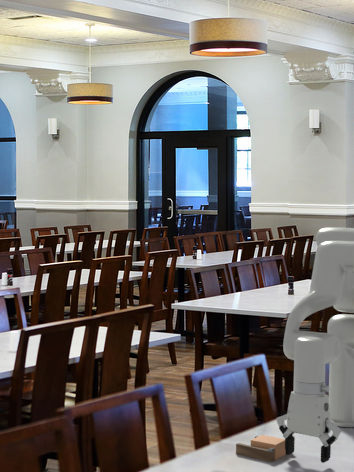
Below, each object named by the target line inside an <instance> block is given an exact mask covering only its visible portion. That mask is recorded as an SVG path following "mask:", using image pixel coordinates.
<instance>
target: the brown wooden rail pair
mask: <svg viewBox="0 0 354 472" xmlns="http://www.w3.org/2000/svg"><path fill="white" fill-rule="evenodd" d="M258 436H259V435H256V436H254V438H256V437H258ZM274 451H275V448H269V449H264V448H259V447H255V446H251V444H246V443H241V442H237V443H236V444H235V455H239V456H244V457H249V458H252V459H257V460H261V461H265V462H270V463H273V462H275V460H274Z"/></svg>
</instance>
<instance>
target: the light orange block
mask: <svg viewBox="0 0 354 472" xmlns="http://www.w3.org/2000/svg"><path fill="white" fill-rule="evenodd" d="M257 436H258V437H256V436H255V437H256V438H255V437H254V438H252V439H250V446H255V447H259V448H264V449H269V448H275V451H274V461H276V460H278V459H279V458H280V459H281V458H282V457H284V456H285V455H287V454H286V450H285V438H280V437H275V436H269V435H266V434H265V435H263V434H260V435H257Z"/></svg>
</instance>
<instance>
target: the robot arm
mask: <svg viewBox="0 0 354 472" xmlns="http://www.w3.org/2000/svg"><path fill="white" fill-rule="evenodd" d="M315 235H316V236H315V241H316V246H317V248H316V250H315V255H314V262H313V268H312V274H311V279H310V280H311V281H310V285H309V286H310V288H309V292H308V293H307V294H306V295H305V296H304V297H303V298H302V299H301V300H299V301H298V302H297V303H296V305H295V306H294V307H293V309H292V310H291V312H290V313H289V315H288V317H287V320H286V324H285V330H284V334H283V335H284V337H283V343H282V347H283V353H284V355H285V356H286V357H287V359H289V360H291V361H293V391H292V390H291V392H290V395H289V400H288V404H287V405H288V407H287V413H286V414H283V415H281V416H278V417H276V418H275V419H276V420H275V421H276V423H277V425H278V429H279V430H280V432H281V434H282V437H283V439H285V450H286V455H291V454H293V453H295V443H296V442H295V440H296V439H295V436H294V434H300V435H303V436H304V435H305V436H308V437H314V438H318V439H319V440H320V443H322V445H320V463H322V464H324V463H326V462H328V461H329V460H330V459H331V453H332V452H331V451H332V450H331V449H332V447H331V446H332V445H333V444H334V442H336V441H337V440H338V438H339V437H340V435H341V433H342V429H341V428H354V227H337V226H335V227H333V226H332V227H331V226H329V227H323V228H320V229H318V230H317V232H316V234H315ZM331 307H333V309H335V310H336V311H338V312H342V313H341V314H336V315H332V316H331V317H330V319H329V320H328V322H327V330H326V331H327V332H316V331H307V330H300V326H301V324H302V323H303V321H304V320H305V319H306V318H307V317H309V316H311V315H312V314H315V313H317V312H318V311H319V312H320V311H322V310H324V309H328V308H331ZM347 313H351V314H347ZM352 313H353V314H352ZM327 364H329V371H328V372H329V375H328V376H329V377H328V379H329V380H328V385H326V365H327ZM326 393H328V394H326ZM285 421H286V424H285ZM340 427H341V428H340ZM331 431H332V435H331V436H330V435H329V434H330V433H331Z"/></svg>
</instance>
